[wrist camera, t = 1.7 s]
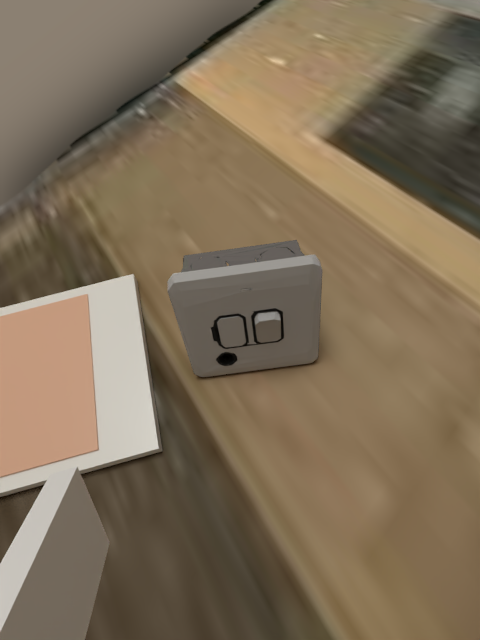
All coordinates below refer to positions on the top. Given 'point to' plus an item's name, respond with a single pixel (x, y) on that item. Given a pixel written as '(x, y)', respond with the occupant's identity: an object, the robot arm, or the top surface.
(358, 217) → the top surface
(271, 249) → the electrical switch
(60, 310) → the mounting plate
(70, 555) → the robot arm
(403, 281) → the top surface
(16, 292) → the top surface
